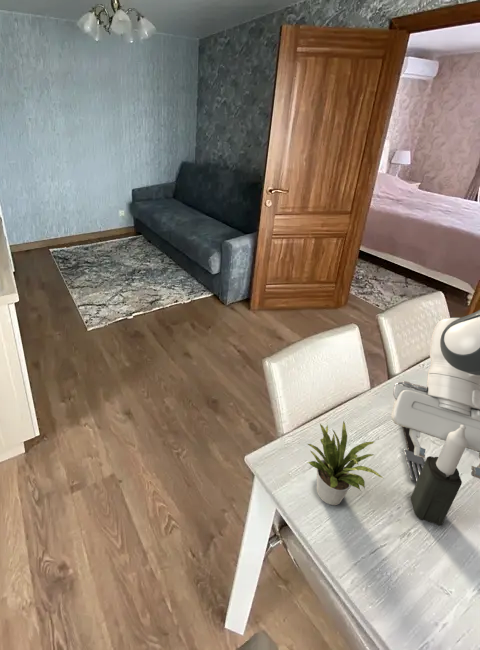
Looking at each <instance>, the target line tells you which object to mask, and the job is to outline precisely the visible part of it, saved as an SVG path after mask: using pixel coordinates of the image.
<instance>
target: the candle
mask: <svg viewBox="0 0 480 650" xmlns="http://www.w3.org/2000/svg"><path fill="white" fill-rule="evenodd" d="M465 429H466V427H465V426H464V425H460V428H459V429H457V430H456V431H453V432H450V433H449V434H448V436H447V438H446V441H445V440H444V443H443V445H442V448H441V451H440V453H439V455H438V456H427V457H426V458H425V462H424V466H423V469H421V473H420V476H419V475H418V481H417V483H416V482H415V483H416V484H415V486H414V489H413V490H412V493H411V495H410V502H411V506H412V510H413V514H414V515H415V516H416V518H418V519H419V520H421V521H427V522H430V523H432V524H435V525H436V526H442V525H443V523H444V521H445V520H446V517H447V516H448V513H449V511H450V510H451V507H452V505H453V503H454V500H455V499H456V497H457V495H458V492H459V490H460V489H461V486H462V485H463V482H462V479H461V476H460V472H459V469H458V468H457V467H458V465H459V463H460V461H461V459H462V457H463V454H464V453H465V450H466V449H467V448H466V446H467V440H466V438H465Z"/></svg>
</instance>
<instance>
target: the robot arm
mask: <svg viewBox="0 0 480 650" xmlns="http://www.w3.org/2000/svg"><path fill="white" fill-rule="evenodd" d="M429 358H430V367H429V369H428V372H427V379H426V386H424V385H420V384H416V383H411V382H409V381H407V380H403V381H398V382H396V383H395V384H394V386H393V390H392V391H393V393H392V395H393V397H394V402H393V405H392V409H391V416H390V418H391V421H392V422H393V424H395V425H398V426H400V427H402V426H403V427H406V428H409V429H410V432H409V435H410V437H411V440H412V442H413V444H414V446H415V447H414V455H416V456H419V457H422V459H426V458H425V457H426V448H424V447H421V444H420V442H419V439H418V438H420V437H421V434H424V435H427V436H430V437H433V438H436V439H439V440H442V441H444V442H445V441H446V438H447V436H448V434H449V433H450V432H453V431H456V430H457V429H459V428H460V425H464V426H465V427H466V429H465V438H466V440H467V446H466V448H465V449H468V450H471V451H473V452H474V451H475V452H478V458H479V459H480V309H478V310H477V311H475V312H473V313H470V314H467V315H465V316H462V317H456V316H455V317H446V318H443V319H440V320H439V321H438V322H437V323H436V325H435V326H434V328H433V331H432V335H431V339H430V346H429ZM470 467H471V472H470V475H471V477H474V478H476V479H480V463H479V464H478V465H477V466H475V465H471V466H470Z"/></svg>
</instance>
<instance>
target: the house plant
mask: <svg viewBox="0 0 480 650" xmlns="http://www.w3.org/2000/svg"><path fill="white" fill-rule="evenodd" d="M319 426H320V430H321V432H322V438H320V443H321V445H322V450H323V452H322V450H321V449H320V447H318V446H316V445H313V444H312V443H307V445H308V446H309V447H310V448H312V449H313V450H315V451H316V452H317V454H319V455H320V456H321V458H322V460H321V458H319V456H318V455H317V454H316V453H315V452H313V451H312V450H311V449H309V451H310V453H311V454H312V456H314V459H315V460H312V461H307V462H306V463H307V464H309V465H310V466H311V467H313V468H315V469H316V492H317V496H318V497H319V498H320V499H321V500H322V501H323V502H324V503H326V504H327V505H330V506H337V505H340V503H341V502H342V500H343V499H344V498H345V497H346V495H347V493H348V492H349V490H350V489H351V487H353V488H356V489H358V490H359V491H360V492H362V490H361V487H360V486H362V487H363V489H364V490H365V487H366V486H365V482H366V481H365V480H364V478H363V476H362V475H359V474H357V473H351V472H352V471H363V472H367V473H371V474H373V475H376V476H377V477H379V478H382V479H385V478H384V477H383V476H382V475H381V474H379V473H378V472H377V471H376V470H374V469H372V468H370V467H368V466H364V465H359V462H361V461H364V460H365V459H367V458H369V457H373V456H375V454H373V453H367V454H363V455H360V456H358V453H359V452H360V451H362V450H364V449H365V448H366V447H368V446H370V445H372V444H375V441H364V442H362V443H360V444H358V445H356V446H354V447H353V448H352V449H350V451H348V454H347V455H346V456H345V452H346V448H347V445H348V444H347V443H348V432H347V428H346V423H345V420H343V422H342V426H341V427H342V428H341V440H340V439H339V437H338V435H337V432H336V431H335V430H334V429H333V428H332V432H333V435H332V438H331V437H330V435H329V433H328V432H329V427H328V424H326V427H324V425H322V423H319ZM355 465H357V466H355Z"/></svg>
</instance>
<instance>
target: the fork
mask: <svg viewBox="0 0 480 650" xmlns="http://www.w3.org/2000/svg"><path fill="white" fill-rule="evenodd" d="M401 427H402V431H403V436H404V440H405V445H406V448H407V449H405V448H404V449H403V454H404V458H405V461H406V465H407V470H408V475H409V479H410V481H411V482H414V481H415V483H417V481H418V478H419V476H420V473H421V471H422V469H423V466H424V464H425V462H424V460H423V458H422V457H419V456H416V455H414V447H415V445H414V444H413V442H412V440H411V437H410V435H409V432H410V429H409V428H406V427H403V426H401Z"/></svg>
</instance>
